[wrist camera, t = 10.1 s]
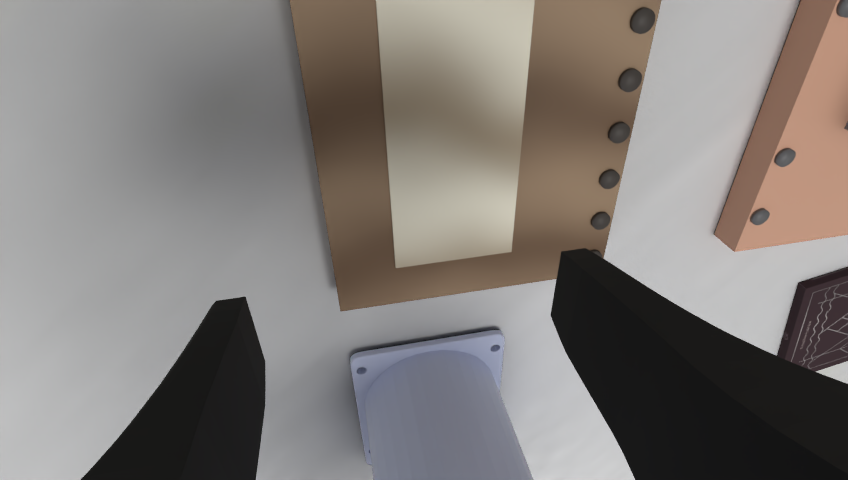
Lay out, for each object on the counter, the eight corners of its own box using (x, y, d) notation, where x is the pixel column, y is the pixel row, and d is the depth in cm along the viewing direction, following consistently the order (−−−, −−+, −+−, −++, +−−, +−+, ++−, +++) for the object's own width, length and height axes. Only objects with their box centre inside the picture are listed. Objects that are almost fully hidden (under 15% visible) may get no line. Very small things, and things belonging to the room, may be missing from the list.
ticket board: (585, 253, 25) (602, 274, 23) (338, 289, 23) (340, 314, 22) (668, -167, 15) (704, -172, 14) (266, -159, 14) (262, -164, 12)
